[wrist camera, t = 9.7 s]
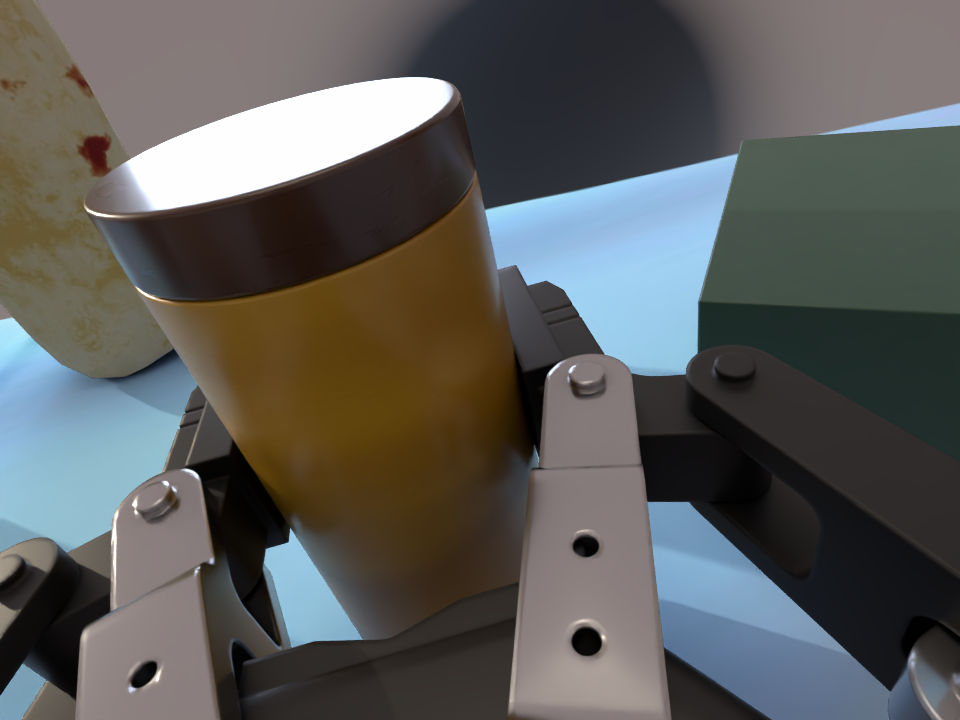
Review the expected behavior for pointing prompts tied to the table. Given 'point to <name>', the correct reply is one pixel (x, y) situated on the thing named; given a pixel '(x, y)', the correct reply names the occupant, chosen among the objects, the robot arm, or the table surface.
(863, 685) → the table surface
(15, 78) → the food model
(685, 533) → the table surface
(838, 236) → the block
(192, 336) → the lidded jar
